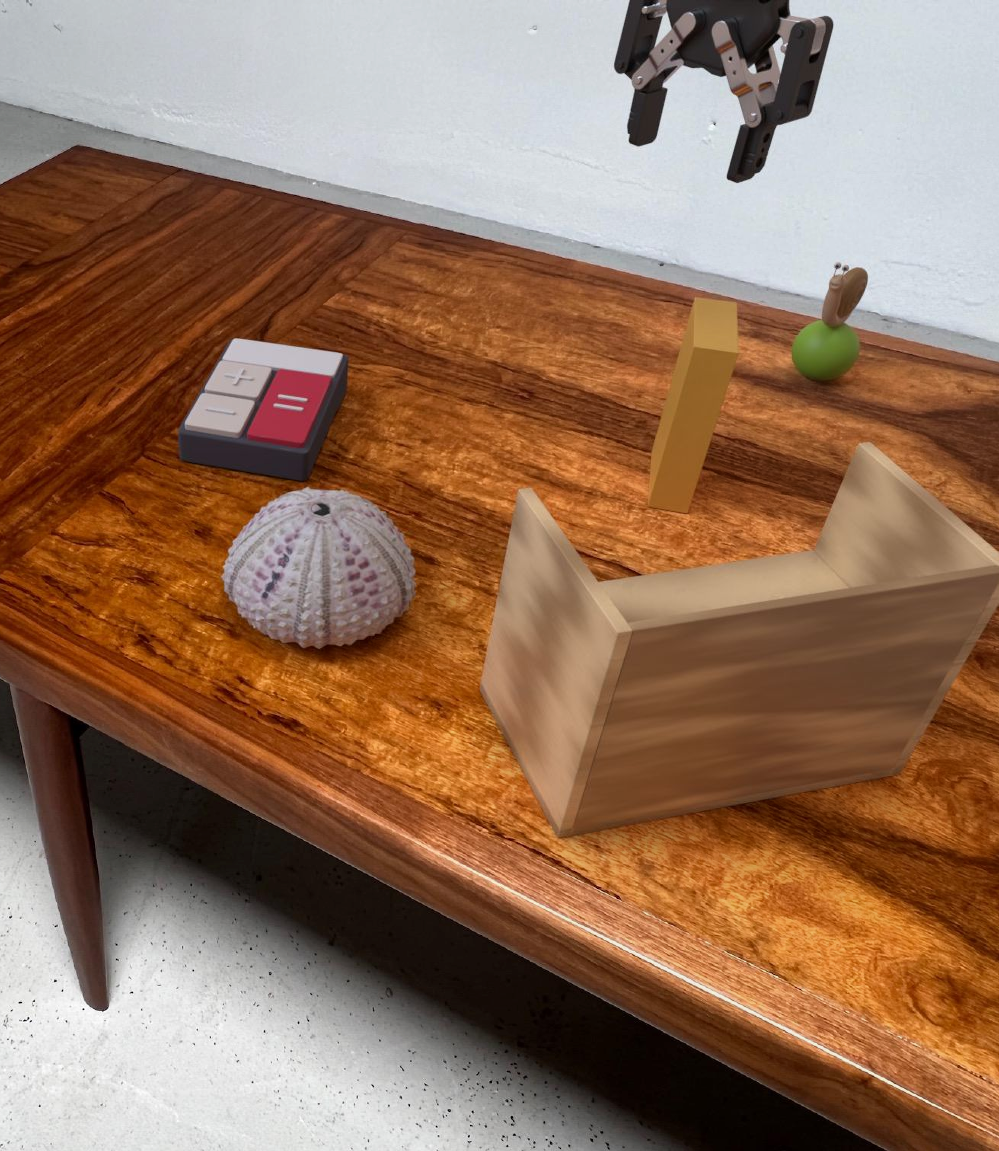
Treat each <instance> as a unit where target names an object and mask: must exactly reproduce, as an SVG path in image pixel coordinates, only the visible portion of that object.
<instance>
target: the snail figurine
mask: <svg viewBox="0 0 999 1151" xmlns="http://www.w3.org/2000/svg"><path fill="white" fill-rule="evenodd" d="M833 268H834V273H833V276H832V277H830V278H829V281H828V289H827V292H826V294H825V297H824V300H823V304H822V309H821V319H819V320H816V321H813V322H811V323H810V324H807V325H806V326H805V327H803V328H802V329H801V330H800V331H799V332H798V334H797V335H796V336H795V337H794V339H793V343H792V346H791V351H790V352H791V359H792V363H793V365H794V368H796V370H797V371H798V373H800V374H801V375H803V377H806V378H807V379H810V380H813V381H817V382H818V381H820V382H825V381H826V382H827V381H832V380H836V379H838V378H841V377H842V376H844V375H845V374H846V373H848V372H849V371H850V370H851V369H853V367H854V366H855V364H856V363H857V361H858V358H859V356H860V351H861V348H860V347H861V344H860V343H861V342H860V339H859V336H858V334H857V333H856V331H855V330H854V329H853V328H852V327H851V326H850V325H849V324H848V323H846V321H847V320H849V318H850V317H851V315H852V313H853V311H854V310H855V309H856V307H857V306H859V303H860V301H861V300H862V298H863V296H864V294H865V292H866V289H867V286H868V281H869V275H868V272H867V270H866V269H865V268H863V267H857V266H856V267H853V268H850V266H849V265H848V264H844V265H842V263H841V262H840V261H839V262H838V261H837V262H834V265H833ZM839 269H841V271H842V274H841V273H838V274H836V273H837V270H839Z"/></svg>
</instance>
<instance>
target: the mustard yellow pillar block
mask: <svg viewBox="0 0 999 1151" xmlns="http://www.w3.org/2000/svg"><path fill="white" fill-rule="evenodd" d="M738 320H739V319H738V302H737V301H729V300H720V299H714V298H713V299H712V298H706V297H699V296H695V297H694V299H693V303H692V306H691V309H690V312H689V317H688V320H687V322H686V327H685V331H684V334H683V338H682V341H681V345H680V349H679V351H678V352H679V353H678V356H677V359H676V363H675V368H674V370H673V372H672V373H673V374H672V377H671V380H670V384H669V387H668V392H667V395H666V398H665V402H664V404H663V410H662V413H661V416H660V420H659V424H658V427H657V430H656V435H655V439H654V442H653V445H652V449H651V452H650V467H649V480H648V494H647V508H653V509H657V510H658V509H659V510H664V511H671V512H676V513H681V514H688V513H689V510H690V508H691V504H692V501H693V497H694V494H695V492H696V488H697V485H698V483H699V479H700V475H701V473H702V470H703V466H704V463H705V460H706V458H707V454H708V451H709V448H710V444H711V441H712V438H713V435H714V432H715V429H716V426H717V423H718V419H719V416H720V414H721V410H722V406H723V404H724V400H725V397H726V394H727V391H728V388H729V385H730V382H731V379H732V376H733V372H734V369H735V367H736V364H737V360H738V357H739V353H740V347H739V322H738Z"/></svg>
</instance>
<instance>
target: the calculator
mask: <svg viewBox="0 0 999 1151" xmlns="http://www.w3.org/2000/svg"><path fill="white" fill-rule="evenodd" d="M348 374H349V356H348V355H347V354H343V353H341V352H336V351H330V350H329V351H328V350H323V349H322V350H321V349H314V348H308V347H300V346H294V345H288V344H279V343H274V342H265V341H259V340H251V339H244V338H232V339H230V340H229V341H228V342H227V344H226V346H225V348H224V350H223V351H222V352H221V355H220V356H219V358H218V360H217V362H216V363H215V365H214V367H213V369H212V370H211V372H210V374H209V376H208V377H207V378H206V380H205V382H204V384H203V386H202V387H201V389H200V391H199V392H198V394H197V395H196V398H195V399H194V401H193V403H192V404H191V407H190V408H189V410H188V412H187V414H186V415H185V417H184V419H183V420H182V422H181V424H180V426H179V427H178V429H177V439H178V442H177V443H178V455H179V459H180V460H181V461H183V462H187V463H193V464H199V465H204V466H205V465H206V466H211V467H217V468H222V469H228V470H234V471H239V472H246V473H251V474H257V475H262V476H263V475H264V476H269V477H275V478H281V479H285V480H286V479H288V480H293V481H298V482H306V481H308V479H309V478H310V475H311V472H312V470H313V468H314V466H315V463H316V460H317V459H318V456H319V454H320V451H321V450H322V449H321V448H322V447H323V445H324V441H325V439H326V437H327V434H328V431H329V429H330V427H331V424H332V422H333V419H334V417H335V414H336V412H338V411H339V409H340V408H341V405H342V403H343V400H344V398H345V395H346V393H347V390H348V377H349V376H348Z"/></svg>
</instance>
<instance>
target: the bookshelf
mask: <svg viewBox="0 0 999 1151" xmlns="http://www.w3.org/2000/svg"><path fill="white" fill-rule="evenodd" d="M508 535H509V536H508V540H507V546H506V550H505V556H504V561H503V566H502V570H501V571H502V572H501V576H500V580H499V587H498V593H497V597H496V603H495V606H494V612H493V618H492V622H491V628H490V632H489V638H488V643H487V649H486V654H485V659H484V664H483V669H482V673H481V674H482V675H481V679H480V683H479V692H480V694H481V695H482V697H483V699H484V701H485V703H486V705H487V707H488V709H489V710H490V712H491V714H492V716H493V718H494V720H495V723H496V724H497V726H498V728H499V729H500V731H501V734H502V735H503V737H504V739H505V741H506V743H507V744H508V746H509V749H510V751H511V753H512V754H513V757H514V758H515V760H516V762H517V764H518V765H519V768H520V769H521V772H522V774H523V776H524V777H525V779H526V781H527V782H528V785H529V786H530V789H531V790H532V792H533V794H534V796H535V798H536V800H537V803H538V804H539V805H540V808H541V810H542V812H543V813H544V816H545V817H546V819H547V821H548V823H549V825H550V827H551V828H552V831H553V833H554V835H555V836H556V838H557V839H560V838H565V837H570V836H577V835H582V834H587V833H592V832H599V831H604V830H609V829H613V828H614V829H615V828H618V827H625V826H630V825H636V824H640V823H647V822H652V821H657V820H663V819H668V818H673V817H678V816H683V815H690V814H695V813H699V812H704V811H710V810H714V809H715V810H716V809H721V808H727V807H732V806H737V805H743V804H747V803H752V802H759V801H764V800H769V799H775V798H779V797H786V796H790V795H796V794H802V793H806V792H807V793H808V792H813V791H818V790H822V789H823V790H824V789H827V788H833V787H838V786H839V787H840V786H843V785H844V786H845V785H850V784H854V783H860V782H865V781H871V780H876V779H881V778H886V777H892V776H898V775H900V774H901V773H902V772H903V771H904V769H905V767H906V764H908V761H909V760H910V757H911V756H912V754H913V752H914V751H915V749H916V747H917V746H918V743H919V742H920V741H921V739H922V738H923V735H924V734H925V732H926V730H927V729H928V727H929V726H930V724H931V722H932V720H933V718H934V716H935V715H936V713H937V711H938V710H939V707H940V706H941V704H942V703H943V701H944V699H945V698H946V696H947V695H948V692H949V691H950V689H951V687H952V685H953V684H954V682H955V680H956V678H957V677H958V675H959V673H960V671H961V670H962V668H963V666H964V664H965V663H966V662H967V659H968V658H969V656H970V654H971V652H973V649H974V647H975V646H976V644H977V642H978V640H979V639H980V637H981V635H983V634H982V633H983V632H984V630H985V628H986V627H987V625H988V623H989V622H990V620H991V618H992V617H993V615H994V613H995V612H996V610H997V608H998V606H999V551H998V550H997V549H996V548H994V547H993V546H992V545H991V544H990V543H988V542H987V541H986V540H985V539H984V538H983V537H981V535H979V534H978V533H977V532H976V531H974V529H972V528H971V527H970V526H969V525H967V523H965V522H964V521H963V520H962V519H960V518H959V516H957V515H956V514H955V513H954V512H953V511H951V510H950V509H949V508H948V507H947V506H946V505H945V504H943V503H942V502H941V501H940V500H939V499H938V498H936V497H935V496H934V495H933V494H931V493H930V492H929V491H928V490H927V489H926V488H924V487H923V486H922V485H921V484H920V483H919V482H917V481H916V480H915V479H914V478H913V477H912V476H911V475H910V474H908V473H907V472H905V470H903V468H901V467H900V466H899V465H897V463H895V462H894V461H893V460H892V459H891V458H889V457H888V456H887V455H886V454H885V453H884V452H882V451H881V449H879V448H878V447H876V446H875V445H874V444H873V443H872V442H871V441H866V442H865V441H864V442H858V444H857V446H856V448H855V451H854V453H853V455H852V457H851V461H850V463H849V464H848V467H847V469H846V472H845V473H844V476H843V479H842V482H841V484H840V486H839V489H838V491H837V493H836V496H835V499H834V500H833V503H832V505H831V508H830V510H829V512H828V514H827V517H826V520H825V522H824V524H823V527H822V528H821V531H820V534H819V536H818V538H817V541H816V543H815V545H814V548H813V549H810V550H809V549H808V550H803V551H795V552H789V553H783V554H775V555H770V556H762V557H756V558H748V559H743V560H736V561H729V562H723V563H716V564H710V565H703V566H696V567H689V568H682V569H676V570H669V571H663V572H656V573H650V574H642V575H636V576H635V575H634V576H630V577H623V578H615V579H609V580H603V581H602V580H601V581H598V579H597V578H596V576H595V575H594V573H593V572H592V571H591V569H590V568H589V566H588V565H587V563H586V562H585V561H584V559H583V558H582V557H581V556H580V554H579V553H578V551H577V549H576V548H575V547H574V545H573V544H572V543H571V541H570V539H569V538H568V537H567V535H566V534H565V532H564V531H563V530H562V529H561V527H560V525H559V524H558V523H557V522H556V520H555V519H554V517H553V516H552V514H551V513H550V512H549V510H548V509H547V508H546V506H545V505H544V503H543V502H542V501H541V499H540V497H539V496H538V495H537V493H536V492H535V491H534V489H533V488H532V487H524V488H518V489H517V494H516V499H515V504H514V509H513V514H512V520H511V524H510V531H509V534H508Z"/></svg>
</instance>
